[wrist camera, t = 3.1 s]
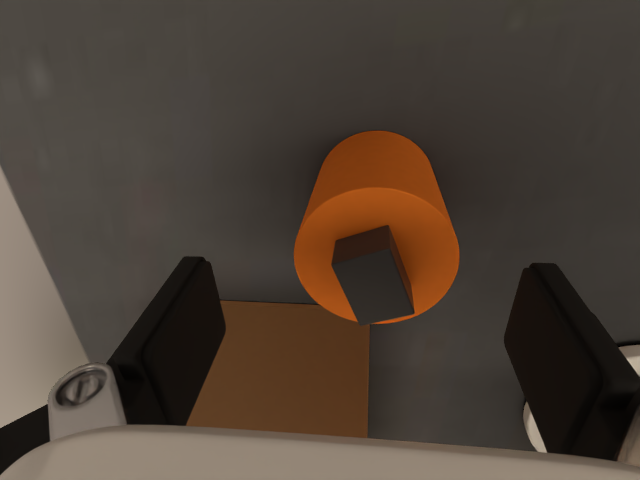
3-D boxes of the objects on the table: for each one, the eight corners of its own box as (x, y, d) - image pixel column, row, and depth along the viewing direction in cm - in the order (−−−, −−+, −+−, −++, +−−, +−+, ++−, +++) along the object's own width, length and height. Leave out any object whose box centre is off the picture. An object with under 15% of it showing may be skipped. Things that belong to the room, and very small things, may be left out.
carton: (369, 306, 24) (366, 478, 15) (366, 436, 31) (363, 605, 22) (165, 297, 26) (56, 446, 17) (206, 422, 33) (144, 573, 24)
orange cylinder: (415, 111, 18) (443, 182, 10) (446, 219, 20) (486, 336, 13) (299, 155, 20) (253, 241, 12) (342, 249, 22) (325, 366, 15)
